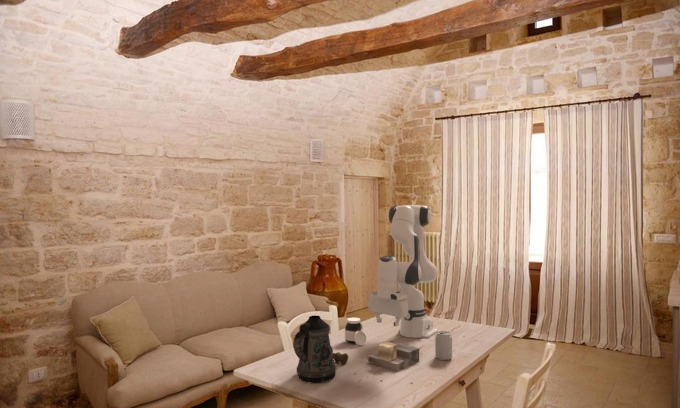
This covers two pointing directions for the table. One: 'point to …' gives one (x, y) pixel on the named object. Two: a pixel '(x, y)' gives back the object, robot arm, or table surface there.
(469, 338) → the table surface
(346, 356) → the kendama
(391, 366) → the stair block
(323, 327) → the beer stein
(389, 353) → the maple cube
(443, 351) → the can
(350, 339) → the spread jar
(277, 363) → the table surface
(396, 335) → the table surface
